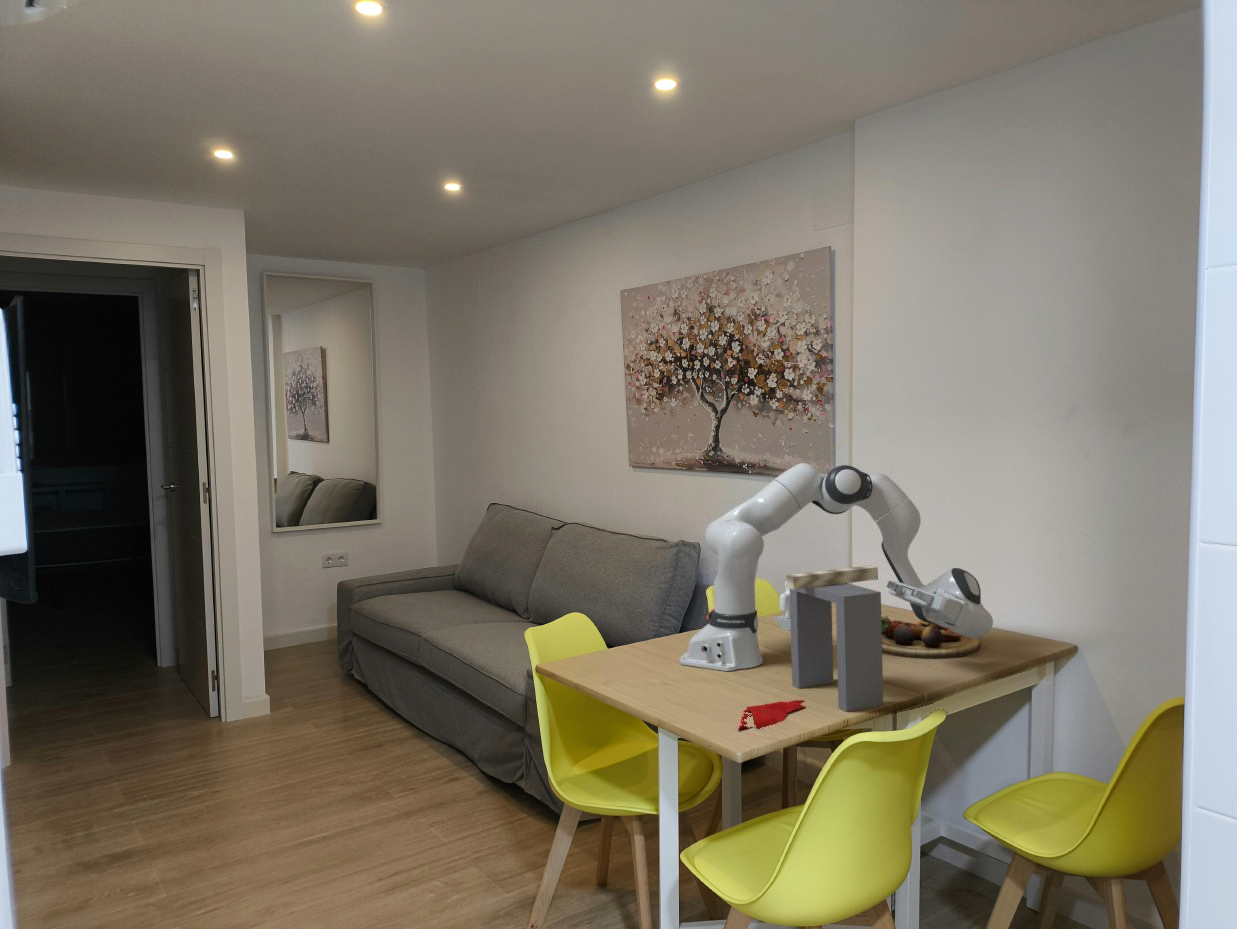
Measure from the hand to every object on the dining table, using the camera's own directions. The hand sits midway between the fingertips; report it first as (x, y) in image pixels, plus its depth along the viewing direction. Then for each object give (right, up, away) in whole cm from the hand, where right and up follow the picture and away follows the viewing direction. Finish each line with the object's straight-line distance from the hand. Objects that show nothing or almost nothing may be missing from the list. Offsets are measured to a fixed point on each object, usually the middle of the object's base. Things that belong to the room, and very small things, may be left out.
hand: (900, 588), depth 213 cm
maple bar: (-19, +2, -7) cm, 20 cm away
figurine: (-16, -21, +56) cm, 62 cm away
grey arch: (-19, -24, -9) cm, 32 cm away
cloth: (-36, -26, -21) cm, 50 cm away
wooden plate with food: (+16, -21, +33) cm, 43 cm away
